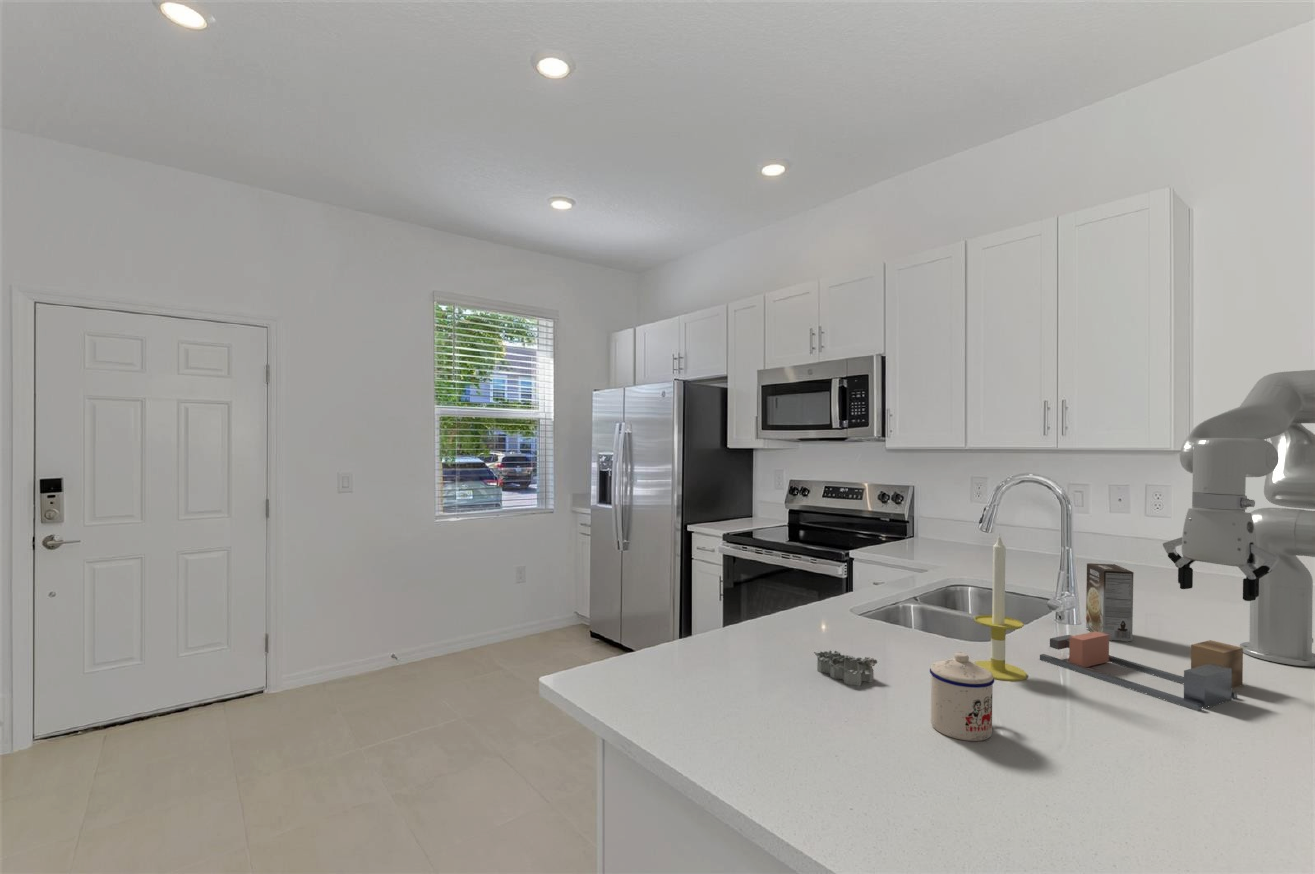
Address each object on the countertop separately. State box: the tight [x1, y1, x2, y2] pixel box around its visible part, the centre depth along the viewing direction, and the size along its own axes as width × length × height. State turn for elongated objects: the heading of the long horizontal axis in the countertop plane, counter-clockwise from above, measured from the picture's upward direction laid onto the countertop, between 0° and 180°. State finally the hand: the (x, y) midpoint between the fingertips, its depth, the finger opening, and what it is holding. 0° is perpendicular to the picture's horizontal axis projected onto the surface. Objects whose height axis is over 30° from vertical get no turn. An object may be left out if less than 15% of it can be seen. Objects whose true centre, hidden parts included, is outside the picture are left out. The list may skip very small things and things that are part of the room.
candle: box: [973, 533, 1028, 682], centre depth 124 cm, size 10×10×27 cm
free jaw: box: [1049, 631, 1110, 668], centre depth 131 cm, size 9×7×6 cm
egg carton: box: [813, 649, 878, 686], centre depth 121 cm, size 11×8×4 cm
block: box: [1190, 639, 1244, 689], centre depth 119 cm, size 7×5×7 cm
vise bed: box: [1039, 653, 1238, 712], centre depth 122 cm, size 13×27×6 cm, turn 26°
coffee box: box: [1085, 563, 1135, 642], centre depth 148 cm, size 9×6×16 cm
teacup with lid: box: [929, 652, 995, 742], centre depth 99 cm, size 12×9×12 cm
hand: (1216, 594), depth 119 cm, fingers open, 9 cm apart
